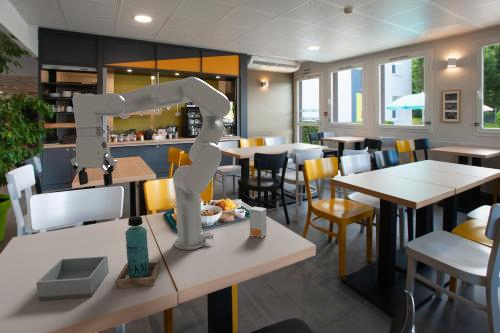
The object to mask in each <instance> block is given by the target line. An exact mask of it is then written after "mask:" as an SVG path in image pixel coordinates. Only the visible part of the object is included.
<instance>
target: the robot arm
mask: <svg viewBox="0 0 500 333" xmlns="http://www.w3.org/2000/svg"><path fill="white" fill-rule="evenodd" d="M188 103H193V104H195V105H197V106H198V107H199V112H200V115H201V117H202V126H201V128H200V131H199V132H198V135H197V136H196V138H195V140H194V142H193V144H192V145H191V147H190V148H189V151H188V158H189V160H190V162H191V164H190V165H189V164H187V165H186V164H184V165H180V166H178V167H177V168H176V169H175V171H174V173H173V180H172V182H173V187H174V188H173V189H174V195H175V209H176V226H177V227H176V228H177V238H176V239H174V242H173V244H174V247H175V248H176V249H179V250H182V251H183V250H184V251H190V250H191V251H192V250H196V249H199V248H201V247H204V246H205V245H206V244H207V240H214V234H212V233H211V232H204V228H203V227H202V226H203V224H202V222H203V221H202V199H201V194H203V193H204V191H206V189H207V188H208V187H209V184H211V182H212V180H213V177H214V175H215V174H216V172H217V170H218V168H219V166H220V165H221V162H222V150H221V148H220V147H219V144H220V141H221V139H222V137H223V135H224V132H225V130H224V129H225V124H224V117H227V116H228V114H229V113H230V111H231V108H232V107H231V106H232V105H231V102H230V100H229V99H228V97H227V96H226V95H224V94H223V93H222V92H220V91H218V90H217V89H215V88H214V87H213V86H211V85H209V84H208V83H207V82H206V81H203V80H202V79H200V78H198V77H196V76H188V77H186V78H182V79H178V80H171V81H166V82H161V83H153V84H149V85H146V86H143V87H141V88H137V89H134V90H129V91H126V92H125V91H124V92H119V93H113V92H112V93H103V94H101V93H100V94H92V93H78V94H74V95H73V97H72V105H73V106H72V107H73V114H74V116H73V117H74V122H75V130H76V140H75V156H74V157H73V158H72V159H70V163H71V165H72V167H73V169H74V170H75V172H76V174H78V182H79V185H80V186H84V185H87V184H89V176H88V171H87V169H101V170H102V172H103V174H102V177H103V184H104V186H105V187H108V186H111V185H113V183H114V182H113V173H114V170H116V168H117V167H116V166H117V164H118V160H117V159H116V158H114V157H113V156H111V152H110V148H109V143H108V139H107V138H106V136H104V134H105V133H106V131H105V129H103V123H102V122H103V121H102V117H103V116H104V117H110V118H117V117H120V116H123V115H128V114H133V113H139V112H143V111H144V112H145V111H153V110H160V109H164V108H169V107H173V106H179V105H183V104H188Z"/></svg>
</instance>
